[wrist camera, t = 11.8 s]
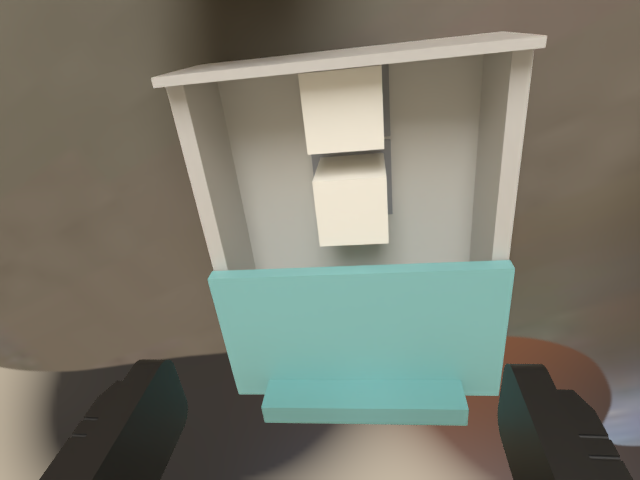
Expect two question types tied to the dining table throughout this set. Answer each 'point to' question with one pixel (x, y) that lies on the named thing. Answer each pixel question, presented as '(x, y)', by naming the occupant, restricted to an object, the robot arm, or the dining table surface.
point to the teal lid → (366, 339)
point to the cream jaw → (351, 200)
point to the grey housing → (358, 147)
